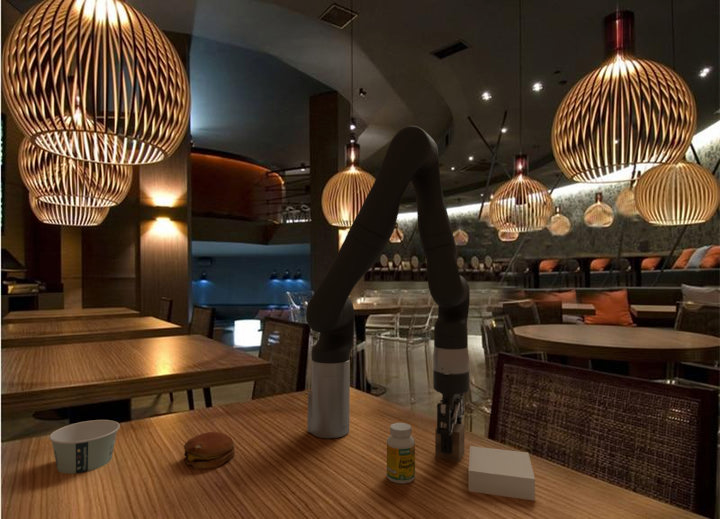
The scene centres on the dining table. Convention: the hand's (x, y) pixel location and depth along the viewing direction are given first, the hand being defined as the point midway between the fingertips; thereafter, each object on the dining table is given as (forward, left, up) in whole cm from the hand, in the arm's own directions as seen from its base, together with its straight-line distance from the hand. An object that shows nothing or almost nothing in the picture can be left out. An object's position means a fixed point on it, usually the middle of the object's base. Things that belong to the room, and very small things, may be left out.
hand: (451, 445), depth 92 cm
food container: (-65, -36, -2) cm, 75 cm away
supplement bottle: (-6, -14, -2) cm, 16 cm away
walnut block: (0, 0, -2) cm, 2 cm away
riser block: (+11, -7, -3) cm, 13 cm away
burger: (-44, -24, -3) cm, 50 cm away
